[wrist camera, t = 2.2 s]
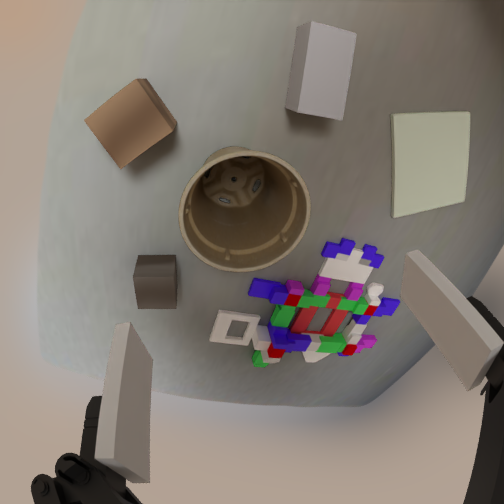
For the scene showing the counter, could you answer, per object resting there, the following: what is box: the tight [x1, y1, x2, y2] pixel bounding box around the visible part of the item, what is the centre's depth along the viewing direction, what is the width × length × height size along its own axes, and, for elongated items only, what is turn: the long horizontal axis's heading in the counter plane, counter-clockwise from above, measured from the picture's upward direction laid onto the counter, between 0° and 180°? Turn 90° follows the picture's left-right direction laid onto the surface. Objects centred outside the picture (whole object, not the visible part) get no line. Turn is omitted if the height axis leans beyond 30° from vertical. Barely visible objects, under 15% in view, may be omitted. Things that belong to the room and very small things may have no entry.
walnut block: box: [84, 79, 177, 169], centre depth 23 cm, size 5×5×5 cm
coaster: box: [390, 111, 470, 218], centre depth 31 cm, size 12×12×1 cm
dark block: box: [133, 255, 177, 309], centre depth 32 cm, size 4×4×4 cm
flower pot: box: [179, 147, 311, 272], centre depth 26 cm, size 9×9×9 cm
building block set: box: [209, 238, 400, 367], centre depth 39 cm, size 25×20×4 cm
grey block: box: [285, 21, 357, 120], centre depth 23 cm, size 4×8×4 cm, turn 173°
